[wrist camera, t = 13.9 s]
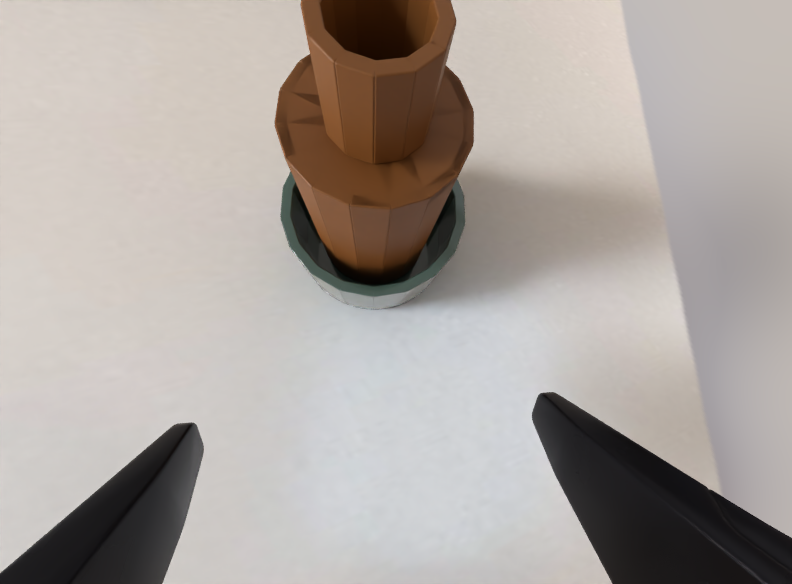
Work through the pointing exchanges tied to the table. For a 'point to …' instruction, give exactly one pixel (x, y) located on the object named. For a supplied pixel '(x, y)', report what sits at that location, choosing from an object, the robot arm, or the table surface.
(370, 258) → the bottle
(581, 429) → the robot arm
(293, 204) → the cup
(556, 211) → the table surface
